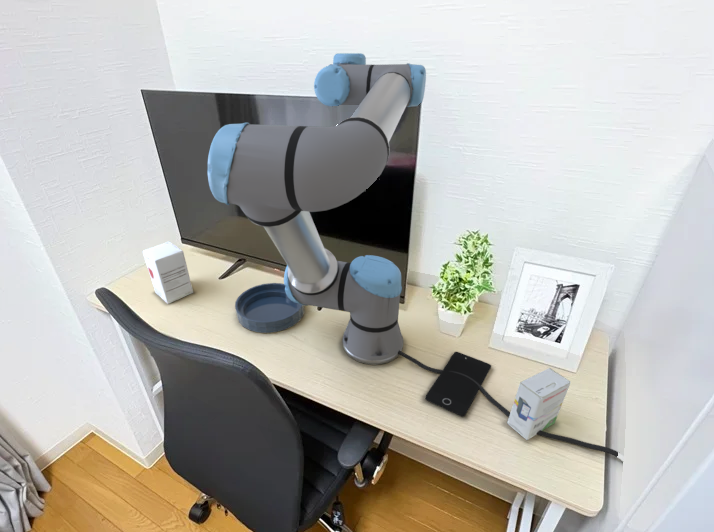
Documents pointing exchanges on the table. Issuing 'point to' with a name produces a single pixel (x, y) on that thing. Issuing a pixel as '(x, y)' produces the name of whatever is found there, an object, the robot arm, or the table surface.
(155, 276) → the rectangular carton
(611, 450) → the robot arm
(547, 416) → the ink box
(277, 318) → the bowl
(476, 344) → the table surface
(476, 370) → the cell phone
